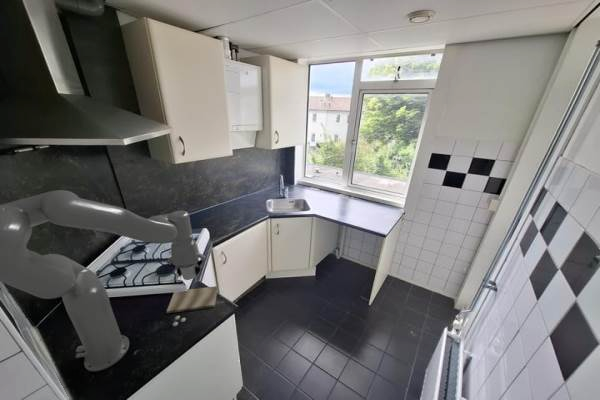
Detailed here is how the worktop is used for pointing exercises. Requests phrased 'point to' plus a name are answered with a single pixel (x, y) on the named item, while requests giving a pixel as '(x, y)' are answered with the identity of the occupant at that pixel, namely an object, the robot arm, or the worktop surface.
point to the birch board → (193, 299)
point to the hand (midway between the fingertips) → (189, 273)
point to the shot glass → (188, 271)
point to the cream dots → (177, 319)
